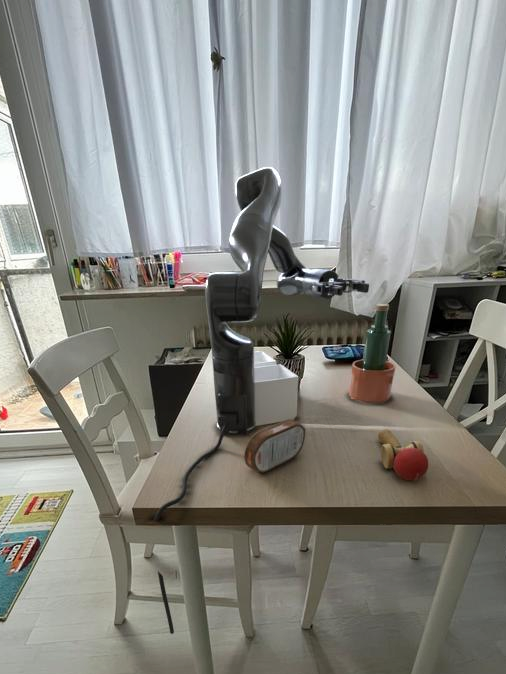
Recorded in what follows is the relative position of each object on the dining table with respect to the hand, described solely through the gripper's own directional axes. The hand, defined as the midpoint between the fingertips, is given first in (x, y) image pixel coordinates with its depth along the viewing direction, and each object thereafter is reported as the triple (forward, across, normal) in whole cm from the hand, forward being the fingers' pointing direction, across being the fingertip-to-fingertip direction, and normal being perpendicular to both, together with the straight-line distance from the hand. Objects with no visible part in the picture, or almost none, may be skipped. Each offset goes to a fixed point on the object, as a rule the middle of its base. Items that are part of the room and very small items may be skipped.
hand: (354, 289), depth 103 cm
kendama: (+42, -19, +26) cm, 53 cm away
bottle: (+11, 0, +25) cm, 28 cm away
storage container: (+1, -29, +26) cm, 40 cm away
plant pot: (+11, 0, +26) cm, 28 cm away
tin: (+32, -41, +26) cm, 58 cm away
